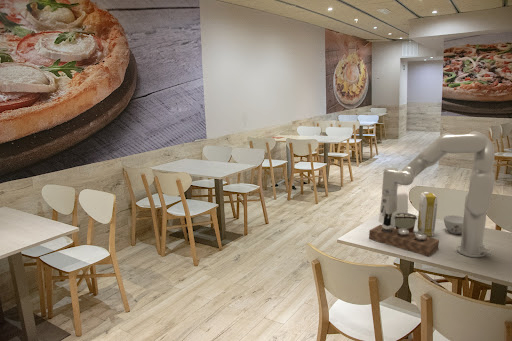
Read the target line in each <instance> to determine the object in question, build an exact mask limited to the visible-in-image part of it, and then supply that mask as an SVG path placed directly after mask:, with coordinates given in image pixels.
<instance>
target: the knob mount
mask: <svg viewBox="0 0 512 341" xmlns="http://www.w3.org/2000/svg"><path fill="white" fill-rule="evenodd" d="M415 233H416V232H413V233H411V232H409V235H408V236H407V237H402V236H399V235H398V229H396V227H392V231H391V232H390V233H387V232H384V231H383V230H382V224H379V225H377V226H374V227H373V228H371V229H369V234H368V239H369V240H371V241H375V242H378V243H382V244H385V245H388V246H391V247H392V246H393V247H395V248H399V249H402V250H405V251H407V252H408V251H409V252H411V253H416V254H419V255H422V256H426V257H430V256H431V255H432V254H434V253H435V252H437V251H438V250H439V245H440V239H437V238H433V237H431V236H426V240H425V241H424V242H420V241H417V240H416V239H415Z"/></svg>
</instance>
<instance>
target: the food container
mask: <svg viewBox="0 0 512 341" xmlns="http://www.w3.org/2000/svg"><path fill="white" fill-rule="evenodd" d="M394 219H395V227H394V228H396V229H399V228H406V229H408V230H409V232H411V233H414V231H415V226H416V222H417V221H418V216H417V215H416V214H413V213H409V212H408V213H397V214H395V216H394Z"/></svg>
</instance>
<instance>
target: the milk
mask: <svg viewBox="0 0 512 341" xmlns="http://www.w3.org/2000/svg"><path fill="white" fill-rule="evenodd" d="M382 195H383V194H382V193H381V196H382ZM380 198H381V200H380V202H381V201H382V197H380ZM397 213H409V194H408V192H407V190H406V189H405V187H404V185H401V184H398V188H397V210H396V211H395V212H394V213H392V217H391V224H392V225H393V226H392V228H396V227H395V219H394V216H395V214H397ZM378 221H379V222H380V223H382V224H383V223H384V216H382V213H381V206H380V208H379V217H378Z"/></svg>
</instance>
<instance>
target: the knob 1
mask: <svg viewBox="0 0 512 341" xmlns="http://www.w3.org/2000/svg"><path fill="white" fill-rule="evenodd" d="M381 225H382V230H383V231H384V232H387V233H390V232H391V231H392V228H393V227H392V226H393V225H392V224H391V225H389V226H387V225H384V223H382V224H381Z"/></svg>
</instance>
